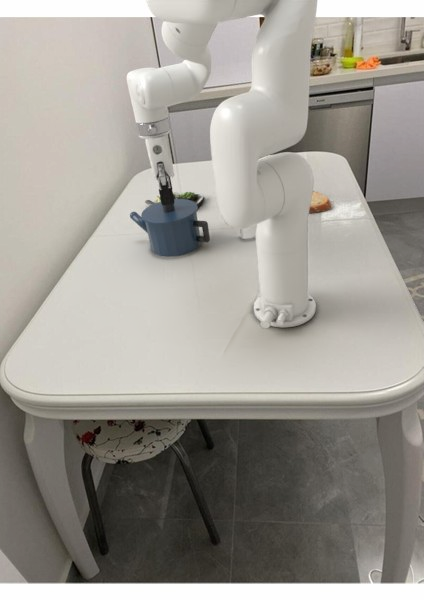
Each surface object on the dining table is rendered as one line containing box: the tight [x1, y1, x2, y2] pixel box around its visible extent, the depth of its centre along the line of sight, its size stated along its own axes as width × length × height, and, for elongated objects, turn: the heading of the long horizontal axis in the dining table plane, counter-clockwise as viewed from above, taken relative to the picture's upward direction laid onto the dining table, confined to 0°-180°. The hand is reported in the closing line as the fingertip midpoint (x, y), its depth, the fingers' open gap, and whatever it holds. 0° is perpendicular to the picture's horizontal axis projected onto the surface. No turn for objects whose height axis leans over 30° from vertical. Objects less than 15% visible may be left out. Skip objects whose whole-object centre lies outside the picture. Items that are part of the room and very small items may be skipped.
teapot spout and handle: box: [129, 211, 211, 243], centre depth 117 cm, size 2×23×8 cm, turn 67°
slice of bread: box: [309, 190, 333, 214], centre depth 132 cm, size 18×18×4 cm
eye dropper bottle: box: [239, 224, 257, 240], centre depth 115 cm, size 4×6×12 cm
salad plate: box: [144, 191, 205, 209], centre depth 142 cm, size 19×18×5 cm
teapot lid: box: [140, 187, 199, 225], centre depth 113 cm, size 15×15×7 cm
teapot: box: [145, 212, 202, 258], centre depth 117 cm, size 14×14×10 cm
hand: (167, 197), depth 112 cm, fingers open, 9 cm apart
